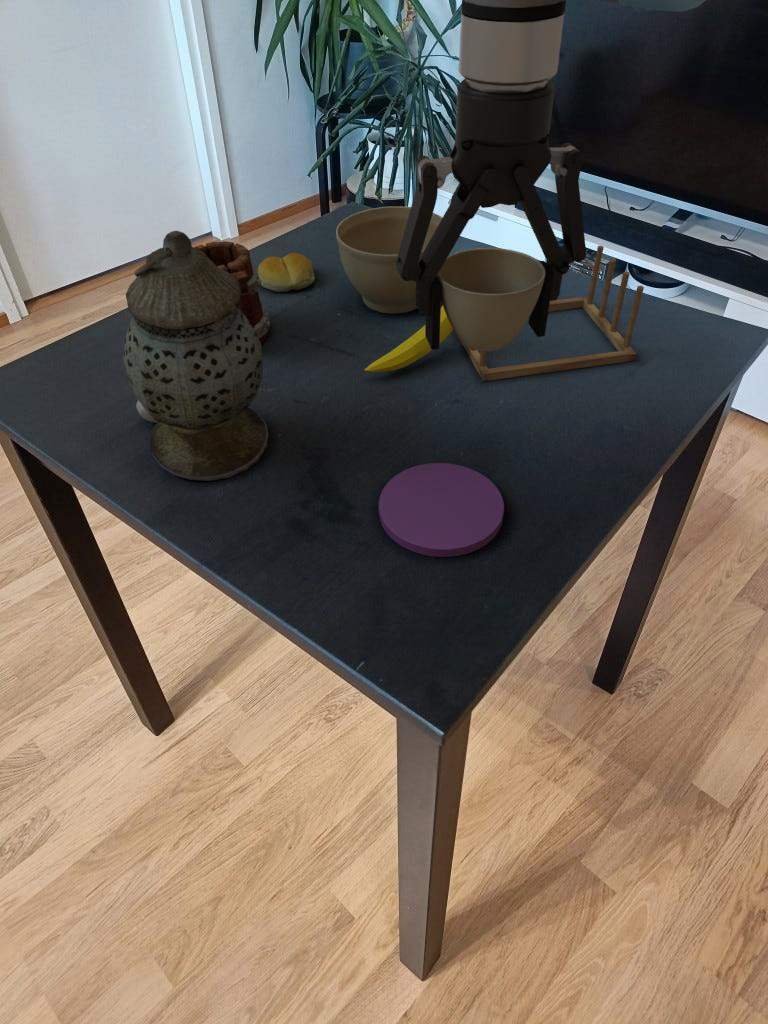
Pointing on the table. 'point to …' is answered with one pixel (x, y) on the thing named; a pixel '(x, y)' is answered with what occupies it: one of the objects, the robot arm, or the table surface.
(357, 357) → the table surface
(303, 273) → the bread roll
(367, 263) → the planter bowl
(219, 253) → the mug
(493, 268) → the flower pot
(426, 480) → the lid
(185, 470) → the lantern
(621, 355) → the rack
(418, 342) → the banana
